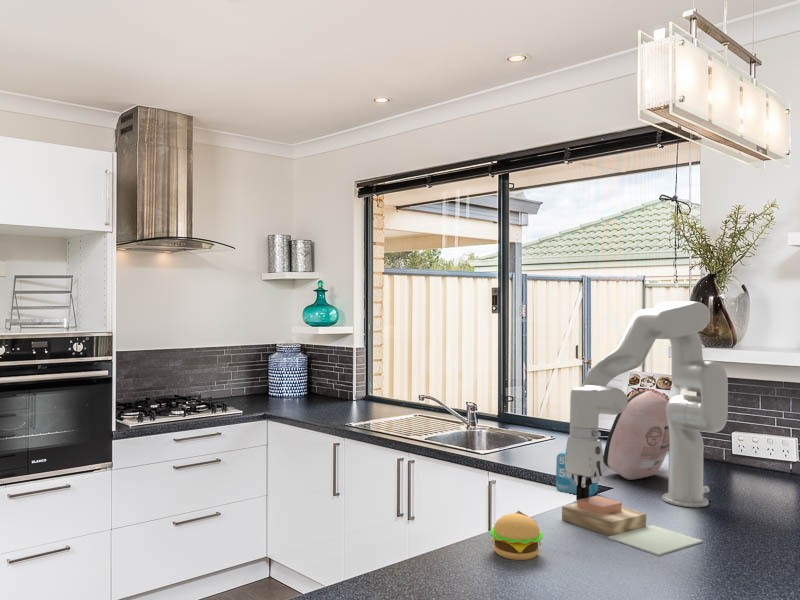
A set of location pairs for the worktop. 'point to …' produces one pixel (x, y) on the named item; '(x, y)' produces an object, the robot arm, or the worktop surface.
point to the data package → (568, 478)
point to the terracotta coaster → (599, 505)
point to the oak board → (605, 520)
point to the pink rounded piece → (638, 437)
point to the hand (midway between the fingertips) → (582, 500)
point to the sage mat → (655, 540)
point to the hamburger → (516, 537)
